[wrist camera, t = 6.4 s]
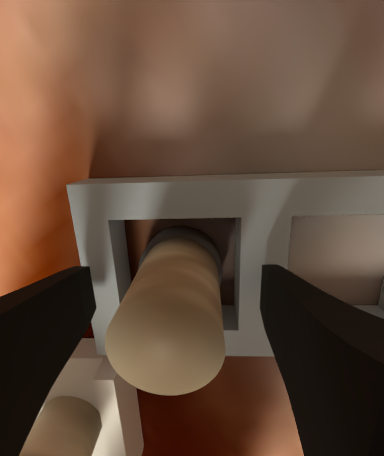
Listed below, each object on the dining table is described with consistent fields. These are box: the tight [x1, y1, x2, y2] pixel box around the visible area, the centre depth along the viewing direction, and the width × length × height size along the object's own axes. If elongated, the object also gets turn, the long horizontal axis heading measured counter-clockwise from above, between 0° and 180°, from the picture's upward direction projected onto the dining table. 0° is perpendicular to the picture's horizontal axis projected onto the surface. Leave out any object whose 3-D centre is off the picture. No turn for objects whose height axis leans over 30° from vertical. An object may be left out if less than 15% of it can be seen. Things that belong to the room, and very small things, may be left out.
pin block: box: [66, 170, 384, 356], centre depth 12 cm, size 8×16×2 cm, turn 92°
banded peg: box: [105, 226, 225, 395], centre depth 10 cm, size 4×4×6 cm
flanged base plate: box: [36, 338, 144, 456], centre depth 15 cm, size 9×14×3 cm, turn 92°
